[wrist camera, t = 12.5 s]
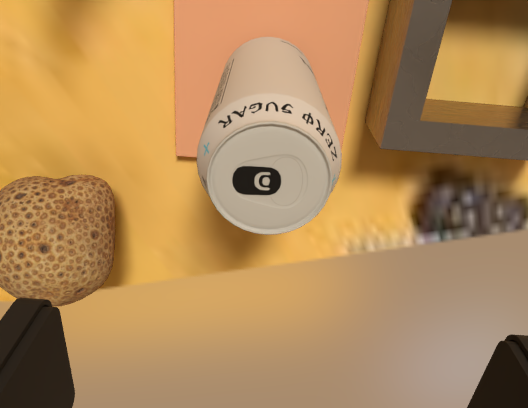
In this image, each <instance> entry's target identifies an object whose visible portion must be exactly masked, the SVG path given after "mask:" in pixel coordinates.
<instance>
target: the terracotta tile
mask: <svg viewBox="0 0 528 408" xmlns="http://www.w3.org/2000/svg"><path fill="white" fill-rule="evenodd" d="M368 2H369V0H174V35H175V106H176V156H186V157H197V149H198V144H199V141H200V138H201V135H202V132H203V129H204V126H205V123H206V120H207V117H208V114H209V111H210V108H211V105H212V103H213V100H214V97H215V94H216V91H217V88H218V85H219V82H220V79H221V76H222V73H223V70H224V68H225V65H226V63H227V61H228V59H229V57H230V56H231V55H232V54H233V52H234V51H235V50H236V49H237V48H239V47H240V46H241V45H242V44H244V43H246V42H248V41H250V40H252V39H256V38H260V37H276V38H281V39H283V40H286V41H289V42H290V43H292V44H293V45H295V46H296V47H298V48H299V49H300V50H301V51H302V52H303V53H304V55H305V56H306V58H307V59H308V61H309V63H310V66H311V68H312V71H313V73H314V76H315V79H316V81H317V84H318V86H319V89H320V92H321V94H322V97H323V100H324V102H325V105H326V107H327V110H328V113H329V115H330V118H331V121H332V123H333V126H334V128H335V131H336V134H337V136H338V139H339V142H340V148H341V149H342V144H343V138H344V133H345V127H346V122H347V116H348V111H349V106H350V100H351V95H352V89H353V84H354V78H355V73H356V67H357V62H358V57H359V51H360V46H361V40H362V35H363V29H364V24H365V18H366V13H367V8H368Z"/></svg>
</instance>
